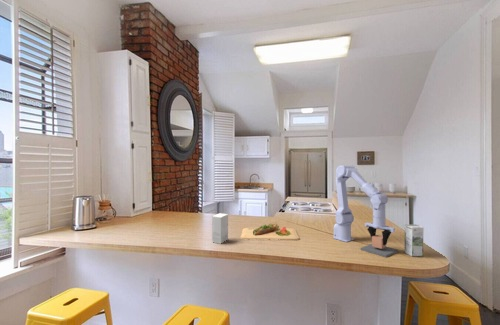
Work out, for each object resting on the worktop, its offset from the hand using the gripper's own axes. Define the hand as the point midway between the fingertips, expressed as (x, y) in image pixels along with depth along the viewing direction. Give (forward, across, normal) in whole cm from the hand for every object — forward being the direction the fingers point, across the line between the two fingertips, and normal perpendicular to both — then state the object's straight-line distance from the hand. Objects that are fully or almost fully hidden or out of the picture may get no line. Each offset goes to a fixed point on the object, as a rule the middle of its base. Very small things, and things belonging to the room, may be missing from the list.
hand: (379, 243), depth 130 cm
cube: (+2, 0, 0) cm, 2 cm away
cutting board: (+5, -57, -26) cm, 63 cm away
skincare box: (+4, -63, -58) cm, 86 cm away
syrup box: (+4, +13, +8) cm, 16 cm away
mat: (+4, 0, 0) cm, 4 cm away
